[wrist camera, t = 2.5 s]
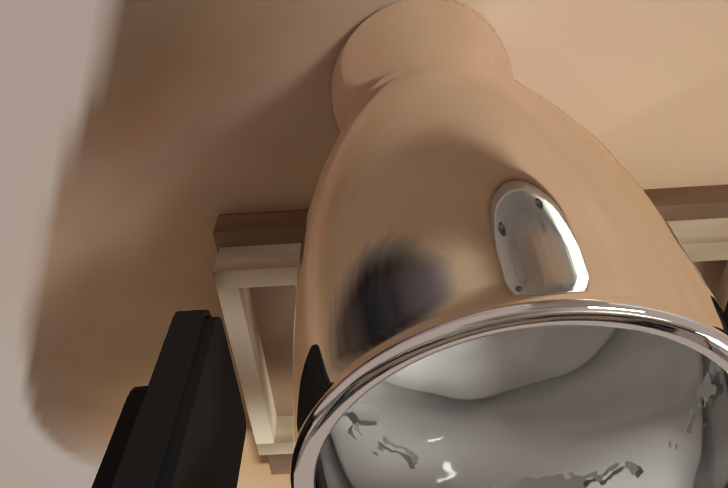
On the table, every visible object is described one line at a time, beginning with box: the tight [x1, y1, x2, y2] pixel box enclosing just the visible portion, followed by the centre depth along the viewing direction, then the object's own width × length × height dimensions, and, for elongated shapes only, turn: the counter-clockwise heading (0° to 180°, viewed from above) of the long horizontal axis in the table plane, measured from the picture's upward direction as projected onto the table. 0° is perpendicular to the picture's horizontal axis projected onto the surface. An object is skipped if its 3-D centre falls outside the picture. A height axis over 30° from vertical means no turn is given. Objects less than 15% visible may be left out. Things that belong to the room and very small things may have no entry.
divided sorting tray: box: [212, 185, 728, 475], centre depth 26 cm, size 15×21×3 cm
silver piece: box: [290, 0, 728, 488], centre depth 14 cm, size 7×7×15 cm
